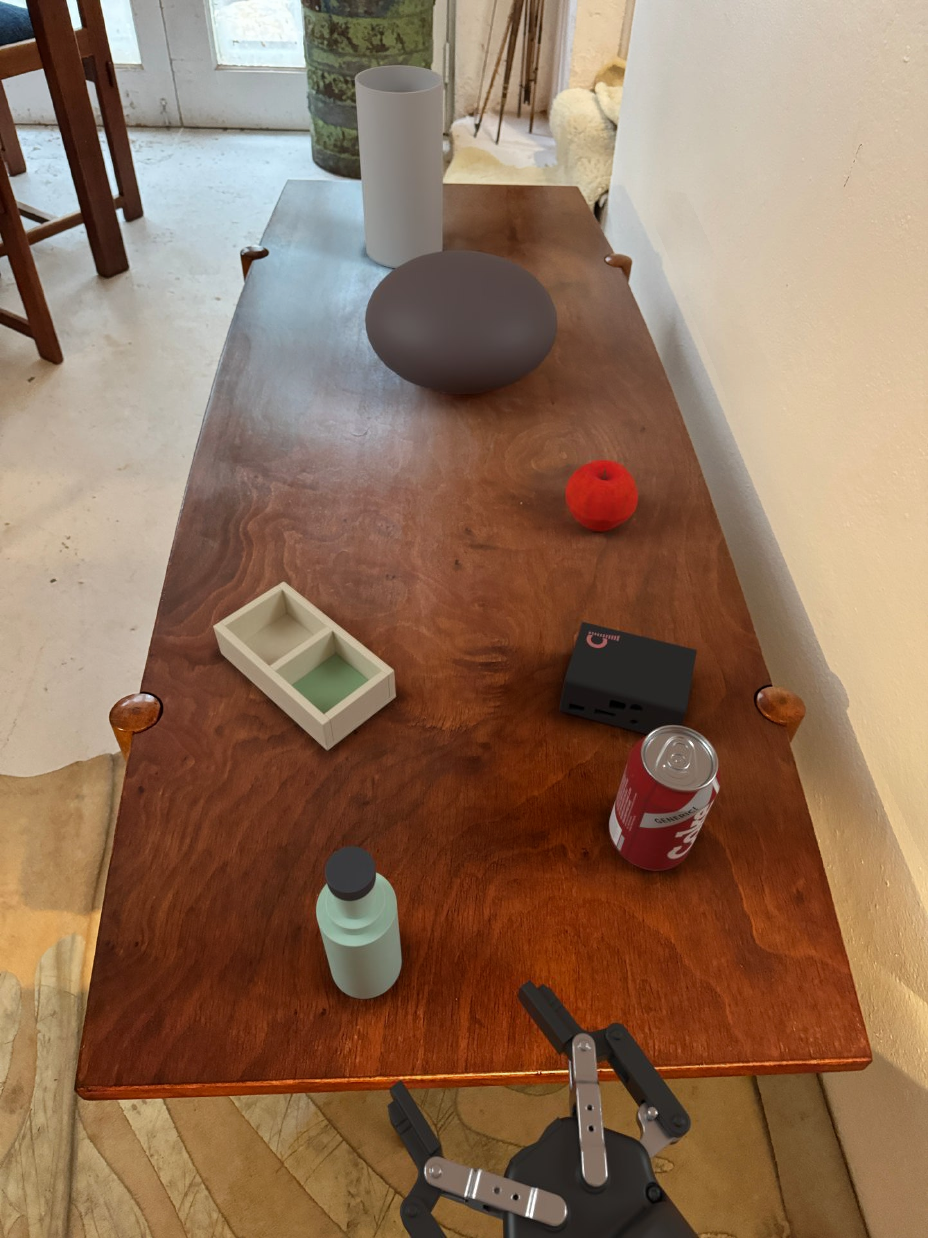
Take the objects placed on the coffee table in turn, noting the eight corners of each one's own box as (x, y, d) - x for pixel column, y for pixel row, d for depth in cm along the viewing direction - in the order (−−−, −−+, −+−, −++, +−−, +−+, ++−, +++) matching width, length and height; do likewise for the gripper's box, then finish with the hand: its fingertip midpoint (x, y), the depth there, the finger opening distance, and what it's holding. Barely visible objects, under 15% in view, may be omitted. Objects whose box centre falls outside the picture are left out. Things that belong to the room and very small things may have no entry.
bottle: (363, 1015, 60) (345, 929, 48) (316, 963, 62) (288, 869, 51) (416, 961, 62) (411, 868, 51) (368, 913, 65) (353, 814, 53)
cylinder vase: (396, 278, 133) (390, 99, 114) (351, 249, 139) (337, 75, 120) (458, 256, 138) (460, 81, 119) (411, 229, 144) (407, 60, 126)
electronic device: (674, 744, 75) (686, 711, 72) (558, 713, 77) (564, 680, 74) (685, 681, 80) (697, 648, 77) (576, 654, 82) (582, 619, 79)
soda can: (599, 859, 68) (623, 781, 59) (616, 789, 72) (642, 707, 63) (682, 886, 67) (720, 810, 58) (695, 813, 71) (732, 732, 62)
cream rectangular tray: (327, 751, 74) (322, 725, 71) (220, 653, 81) (212, 625, 78) (396, 696, 78) (394, 670, 75) (289, 608, 85) (283, 580, 82)
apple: (574, 490, 99) (582, 438, 93) (639, 509, 97) (652, 456, 91) (552, 532, 94) (559, 480, 88) (621, 553, 92) (632, 500, 86)
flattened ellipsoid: (411, 312, 126) (408, 209, 115) (572, 346, 120) (586, 241, 109) (337, 399, 110) (326, 290, 99) (519, 443, 105) (529, 332, 94)
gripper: (810, 1228, 37) (567, 932, 46) (564, 1506, 31) (340, 1107, 40) (763, 1247, 43) (554, 980, 51) (547, 1486, 37) (353, 1140, 46)
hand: (461, 1036), depth 46 cm, fingers open, 8 cm apart
